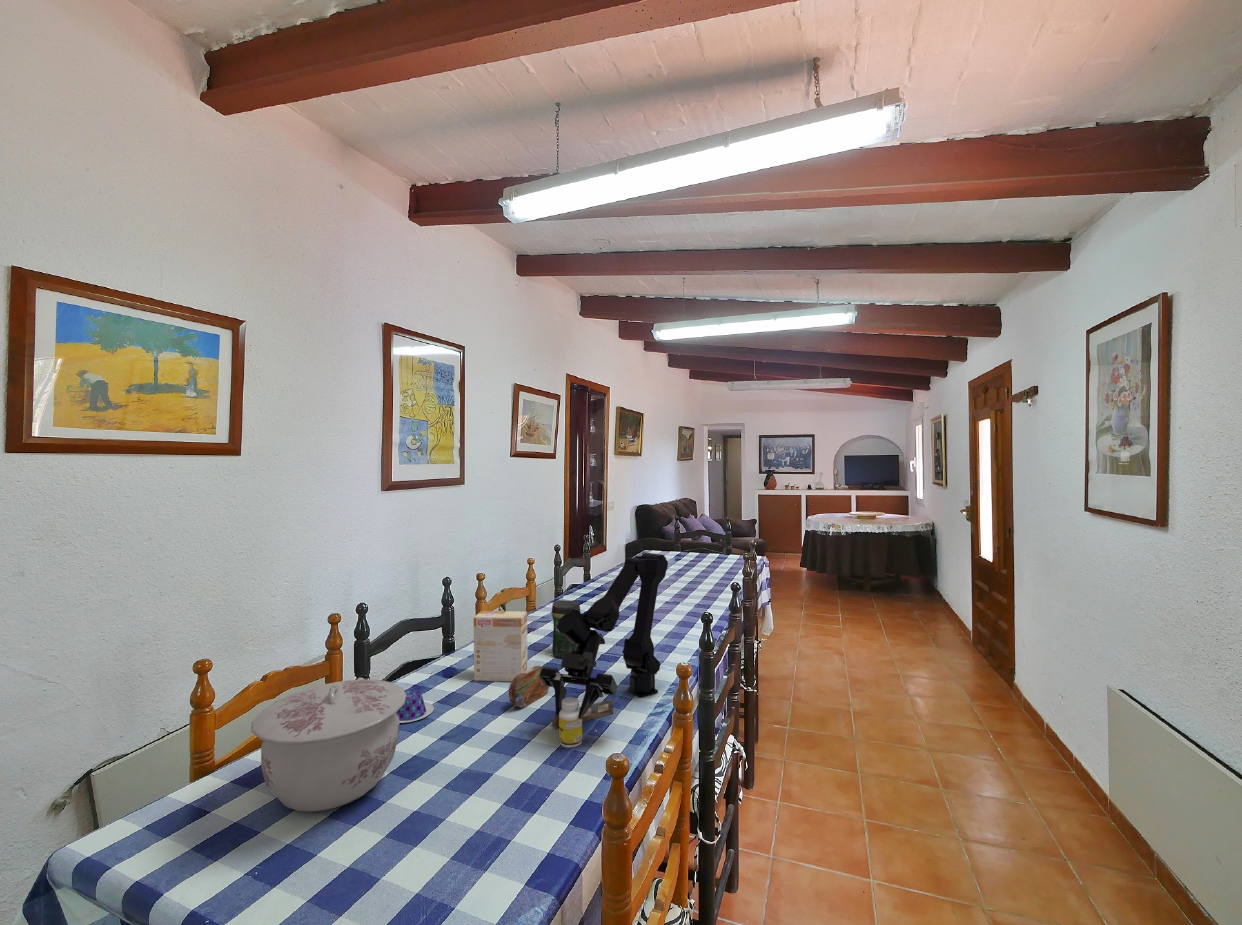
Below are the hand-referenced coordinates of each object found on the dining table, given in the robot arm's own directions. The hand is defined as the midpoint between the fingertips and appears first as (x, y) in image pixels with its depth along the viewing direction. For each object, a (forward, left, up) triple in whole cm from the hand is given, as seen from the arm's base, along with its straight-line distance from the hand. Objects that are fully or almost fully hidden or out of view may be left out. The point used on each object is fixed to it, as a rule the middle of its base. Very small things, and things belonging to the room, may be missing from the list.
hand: (568, 716), depth 123 cm
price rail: (-9, -10, -7) cm, 15 cm away
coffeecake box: (+1, -47, -7) cm, 47 cm away
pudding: (+29, -36, -7) cm, 47 cm away
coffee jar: (-24, -54, -7) cm, 59 cm away
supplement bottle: (-1, -1, -7) cm, 7 cm away
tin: (-1, -27, -7) cm, 28 cm away
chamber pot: (+47, -9, -7) cm, 49 cm away
